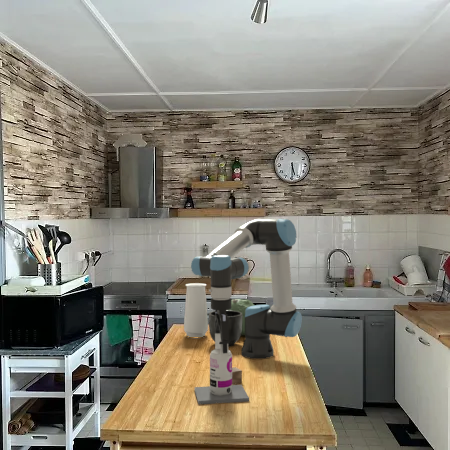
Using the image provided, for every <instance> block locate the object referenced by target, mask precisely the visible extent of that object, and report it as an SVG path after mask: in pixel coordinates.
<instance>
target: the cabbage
mask: <svg viewBox="0 0 450 450" xmlns="http://www.w3.org/2000/svg"><path fill="white" fill-rule="evenodd" d="M250 306H255V304H254V303H253V302H252V300H250V299H247V298H246V299H242V298H234V299H231V309H229V310H232V311H238V312H241V313H242V314H243V322H242V332H241V336H245V311H246V308H247V307H250Z"/></svg>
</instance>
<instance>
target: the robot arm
mask: <svg viewBox="0 0 450 450" xmlns="http://www.w3.org/2000/svg"><path fill="white" fill-rule="evenodd" d="M296 241H297V231H296V226H295V225H294V223H293V222H292V221H291V220H290V219H287V218H286V219H285V218H256V219H253V220H250V221H248V222H247V223H244V224H242V225H241V226H239V227H238V228H236V229H235V231H234V232H233V234H232V235H231V236H229V237H228V238H227V239H226V240H224V241H223V242H222V243H220V244H219V245H218V246H216V247H215V248H213V250H210V252H209V253H207V254H206V255H204V256H201V255H200V256H195V257H194V258H193V259H192V260H191V264H190V265H191V266H190V268H191V273H192V274H193V275H195V276H200V277H210V288H209V290H208V292H210V297H211V299H210V309H211V310H212V311H215V325H214V330H215V333H216V334H215V342H214V346H215V348H214V350H215V349H221V362H229V353H228V350H229V347H228V343H230V341H229V331H228V315H226V312H225V311H226V310H229V309H231V300H232V280H234V279H240V278H242V277H244V276H246V275H247V274H248V272H249V263H248V261H247V260H246V259H245V258H243V257H236V255H238V254H239V253H240V252H242V250H244V249H247V248H250V247H251V246H253V245H264V246H265V251H266V252H267V253H269V259H270V260H269V261H270V263H269V264H270V274H271V288H272V300H273V304H271V306H270V304H256V305H255V304H254V306H250V307H247V308H246V311H245V335H244V341H243V344H242V346H241V356H242V357H245V358H247V359H253V360H258V359H259V360H263V359H269V358H272V357H273V356H274V351H275V350H274V347H273V344H272V340H271V335H272V336H277V337H278V336H279V337H283V338H284V337H285V338H294V337H296V336H297V335H298V334H299V333H300V330H301V327H302V321H303V315H302V313H301V312H300V311H297V306H296V304H295V303H293V292H292V289H293V288H292V277H291V274H292V273H291V263H290V252H291V250H292V249H293V246H294V245H295V244H296ZM224 339H226V340H224Z"/></svg>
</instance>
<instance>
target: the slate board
mask: <svg viewBox="0 0 450 450" xmlns="http://www.w3.org/2000/svg"><path fill="white" fill-rule="evenodd" d="M194 393H195V396H196V400H197V404H198V405H210V404H211V405H212V404H223V403H224V404H227V403H228V404H229V403H243V402H245V403H247V402H250V397H249V395H248V393H247V391H246V389H244V387H243V385H242V384H234V385H232V392H231V393H230V394H228V395H224V396H218V395H214V394H212V393H211V392H210V385H209V386H194Z"/></svg>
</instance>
